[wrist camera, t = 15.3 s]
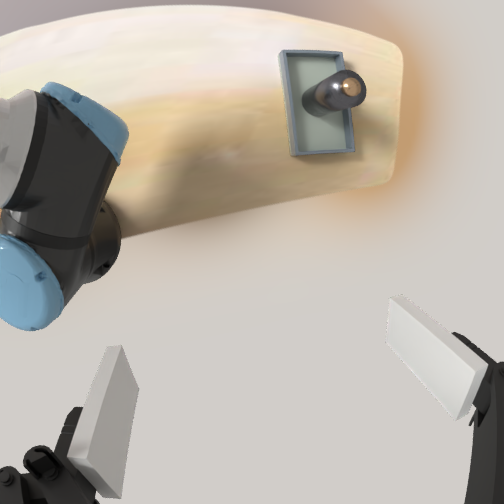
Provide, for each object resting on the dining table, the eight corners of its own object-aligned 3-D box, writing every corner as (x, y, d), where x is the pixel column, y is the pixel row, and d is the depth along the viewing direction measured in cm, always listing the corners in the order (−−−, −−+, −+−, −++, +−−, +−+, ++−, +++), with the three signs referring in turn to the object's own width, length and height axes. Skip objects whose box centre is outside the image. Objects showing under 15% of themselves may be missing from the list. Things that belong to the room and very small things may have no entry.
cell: (303, 117, 45) (336, 105, 33) (299, 87, 44) (331, 66, 31) (332, 116, 46) (372, 106, 33) (328, 87, 44) (367, 69, 32)
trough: (290, 155, 48) (295, 155, 45) (277, 55, 42) (282, 49, 39) (346, 151, 49) (355, 151, 46) (335, 56, 43) (342, 51, 40)
